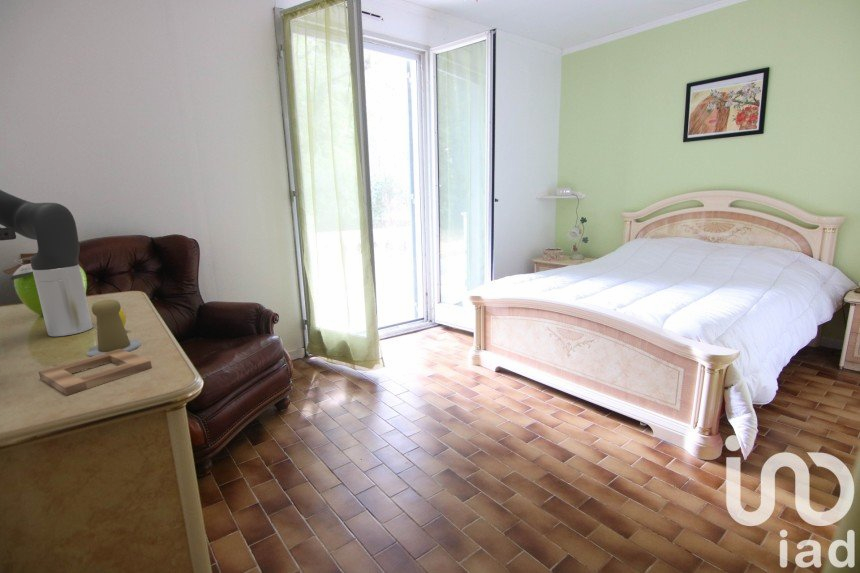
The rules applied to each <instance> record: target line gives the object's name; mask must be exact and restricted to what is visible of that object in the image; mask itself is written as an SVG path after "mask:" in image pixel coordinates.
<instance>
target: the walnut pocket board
mask: <svg viewBox="0 0 860 573" xmlns="http://www.w3.org/2000/svg"><path fill="white" fill-rule="evenodd" d="M110 362H111V363H110ZM106 363H108V364H114V363H115V364H114V365H116V364H117V365H116V366H112V367H109V368H106V369H104V370H100V371H97V372H96V371H95V372H94V373H91V374H87V375H84V376H81V377H78V375H75V374H76V373H75V372H78V373H80V372H79V371H81V372H83V371H82V370H85V369H88V368H91V369H93V368H92V367H95V368H97V367H96V366H98V367H100V366H99V365H101V366H103V364H105V365H107V364H106ZM151 368H153V367H152V361H151V360H150V359H147V358H145V357H142V356H140V355H137V354H134V353H133V352H131V351H129V352H127V351H125V350H122V349H117V350H114V351H110V352H107V353H103V354H100V355H96V356H92V357H90V356H88V357H85V358H82V359H79V360H76V361H72V362H71V361H70V362H68V363H65V364H60V365H57V366H54V367H51V368H46V369H43V370H40V371H38V374H39V375H38V376H39V379H40V380H41V379H42V380H41V381H43V382H44V381H45V383H46V384H47V385H50V386H51V387H52V388H54V389H56V390H57V391H58V392H60V393H62V394H64V396H70V395H73V394H76V393H79V392H82V391H85V390H88V389H92V388H94V387H96V386H100V385H103V384H106V383H109V382H113V381H115V380H119V379H121V378H125V377H127V376H130V375H134V374H136V373H140V372H143V371H145V370H150V369H151ZM88 370H89V369H88ZM85 371H86V370H85ZM139 371H140V372H139ZM72 373H75V374H72ZM133 373H134V374H133Z"/></svg>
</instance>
